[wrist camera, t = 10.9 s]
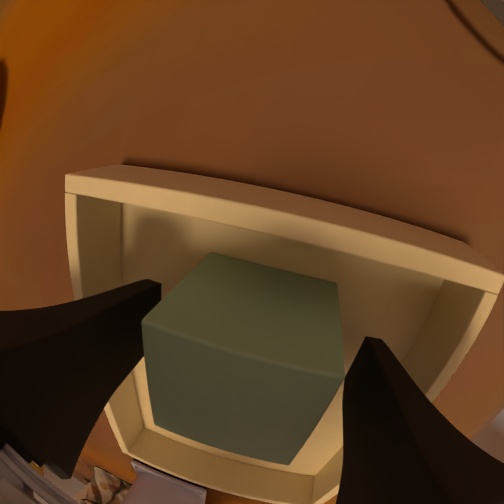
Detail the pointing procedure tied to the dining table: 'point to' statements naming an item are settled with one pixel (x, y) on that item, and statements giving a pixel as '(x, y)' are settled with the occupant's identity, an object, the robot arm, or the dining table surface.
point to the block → (244, 357)
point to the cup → (82, 493)
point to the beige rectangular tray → (286, 258)
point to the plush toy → (105, 489)
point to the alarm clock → (496, 8)
